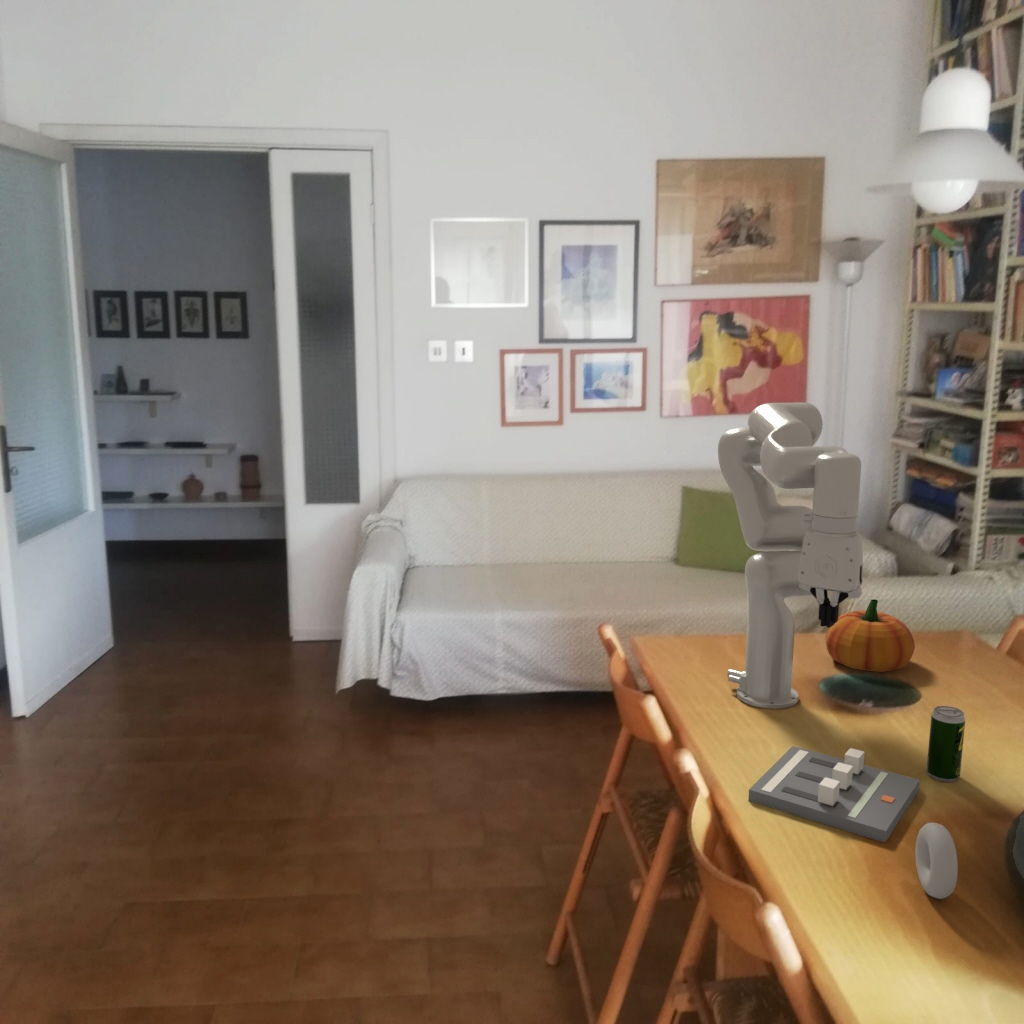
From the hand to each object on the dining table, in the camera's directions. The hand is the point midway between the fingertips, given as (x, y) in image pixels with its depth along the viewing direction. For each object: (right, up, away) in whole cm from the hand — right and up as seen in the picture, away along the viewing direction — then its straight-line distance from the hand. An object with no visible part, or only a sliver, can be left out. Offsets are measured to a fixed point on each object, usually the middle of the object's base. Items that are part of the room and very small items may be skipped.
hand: (827, 624), depth 168 cm
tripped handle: (-1, -25, -10) cm, 27 cm away
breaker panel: (-2, -28, -9) cm, 29 cm away
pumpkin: (+26, -15, +51) cm, 59 cm away
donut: (+3, -33, -36) cm, 49 cm away
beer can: (+19, -26, -3) cm, 33 cm away
